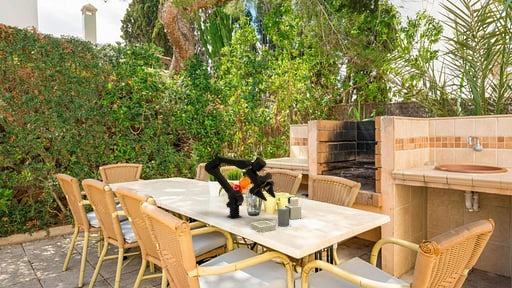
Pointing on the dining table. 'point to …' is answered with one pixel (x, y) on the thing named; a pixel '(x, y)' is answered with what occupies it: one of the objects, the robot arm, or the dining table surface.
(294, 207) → the yellow black printed box
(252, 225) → the tray
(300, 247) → the dining table surface
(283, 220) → the grey tall block
